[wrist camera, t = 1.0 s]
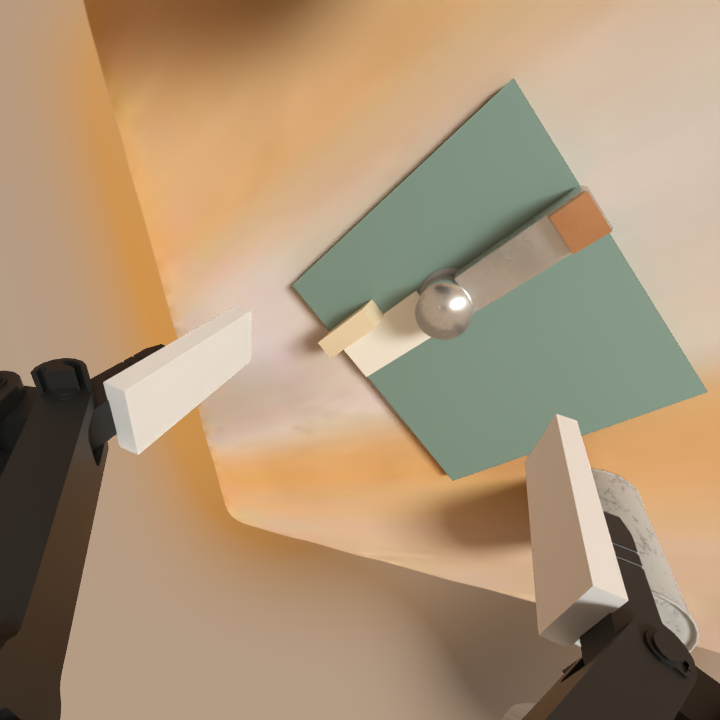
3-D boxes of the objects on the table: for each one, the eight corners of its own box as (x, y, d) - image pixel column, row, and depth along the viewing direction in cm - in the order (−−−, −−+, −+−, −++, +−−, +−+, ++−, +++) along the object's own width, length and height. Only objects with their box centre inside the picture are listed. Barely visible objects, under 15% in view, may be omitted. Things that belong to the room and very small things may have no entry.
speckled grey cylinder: (518, 490, 41) (525, 599, 30) (602, 453, 35) (644, 570, 25) (574, 545, 41) (599, 669, 31) (664, 517, 36) (730, 655, 26)
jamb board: (297, 282, 38) (276, 293, 34) (512, 81, 25) (515, 67, 22) (453, 473, 42) (449, 501, 39) (700, 384, 30) (727, 413, 26)
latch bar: (442, 330, 33) (436, 349, 30) (413, 293, 33) (404, 307, 29) (607, 229, 26) (623, 239, 23) (574, 178, 25) (586, 179, 22)
